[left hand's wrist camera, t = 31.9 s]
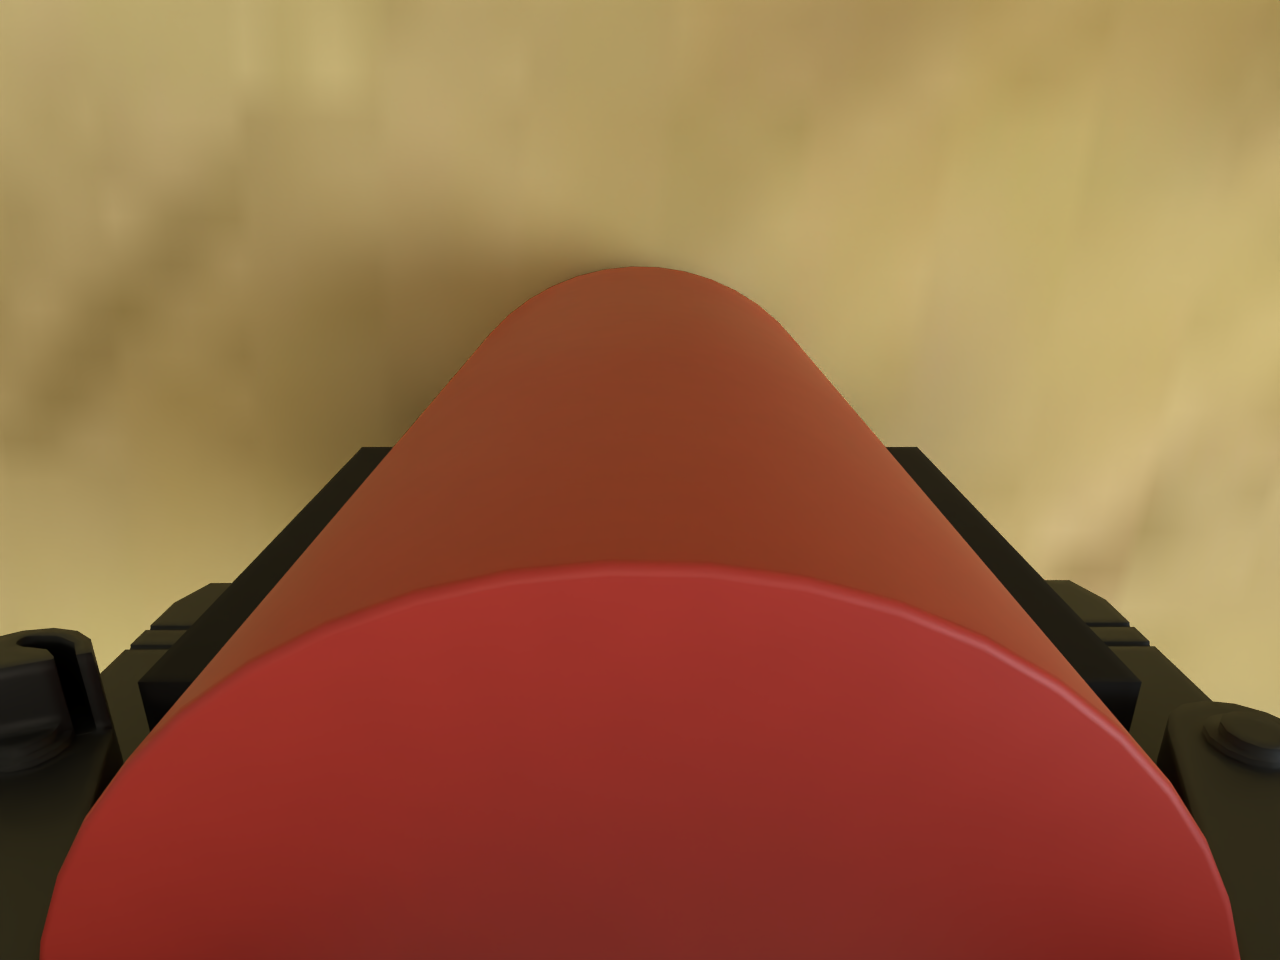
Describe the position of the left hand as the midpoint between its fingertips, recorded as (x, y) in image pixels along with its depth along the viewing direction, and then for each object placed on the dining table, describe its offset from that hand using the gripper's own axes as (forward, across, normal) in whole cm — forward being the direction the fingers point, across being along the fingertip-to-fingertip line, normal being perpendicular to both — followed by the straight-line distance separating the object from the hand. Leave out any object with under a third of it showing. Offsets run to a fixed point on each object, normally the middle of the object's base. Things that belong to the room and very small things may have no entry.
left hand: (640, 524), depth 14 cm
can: (+3, 0, 0) cm, 3 cm away
